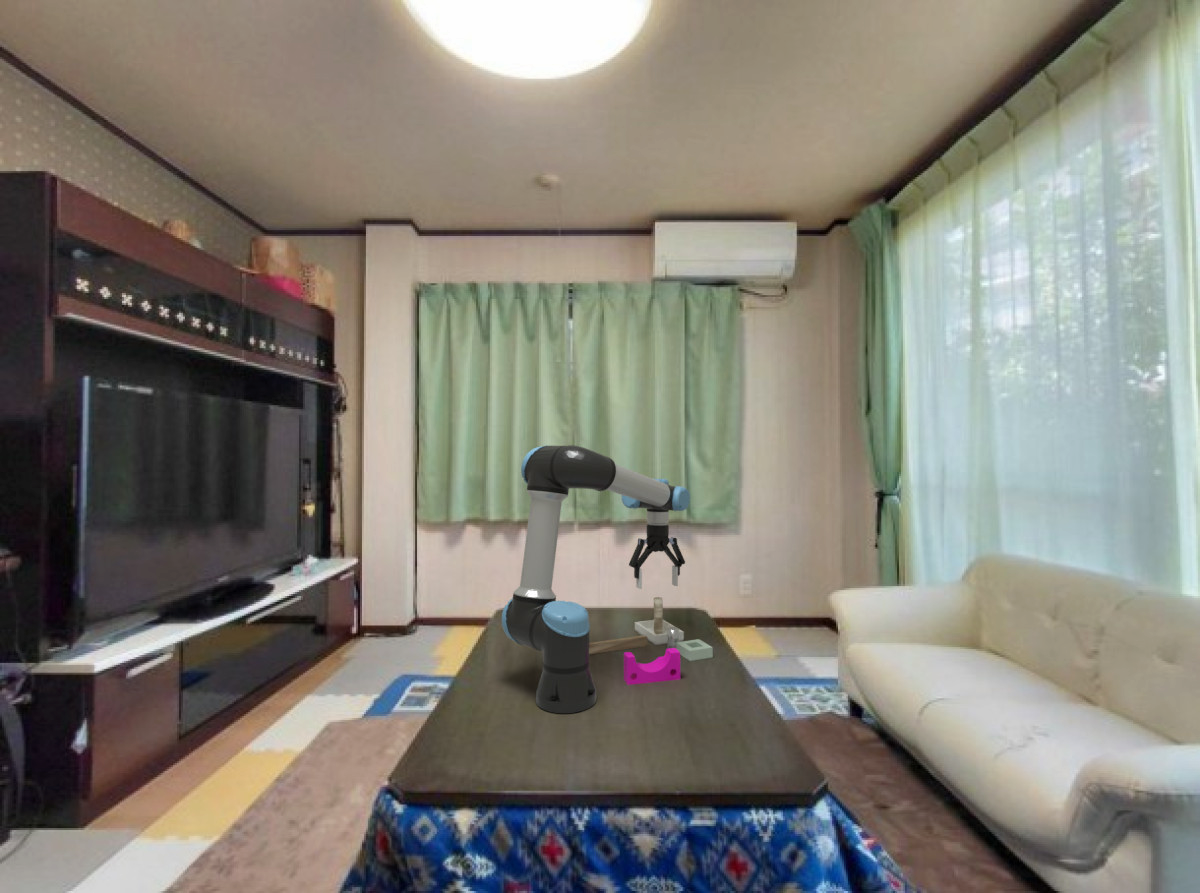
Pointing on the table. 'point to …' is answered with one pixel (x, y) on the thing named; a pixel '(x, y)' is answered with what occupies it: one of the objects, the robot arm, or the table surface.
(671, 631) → the cylinder
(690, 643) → the socket
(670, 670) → the toy block
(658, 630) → the dowel
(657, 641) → the tray
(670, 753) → the table surface
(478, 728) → the table surface
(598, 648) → the brown wooden bar
